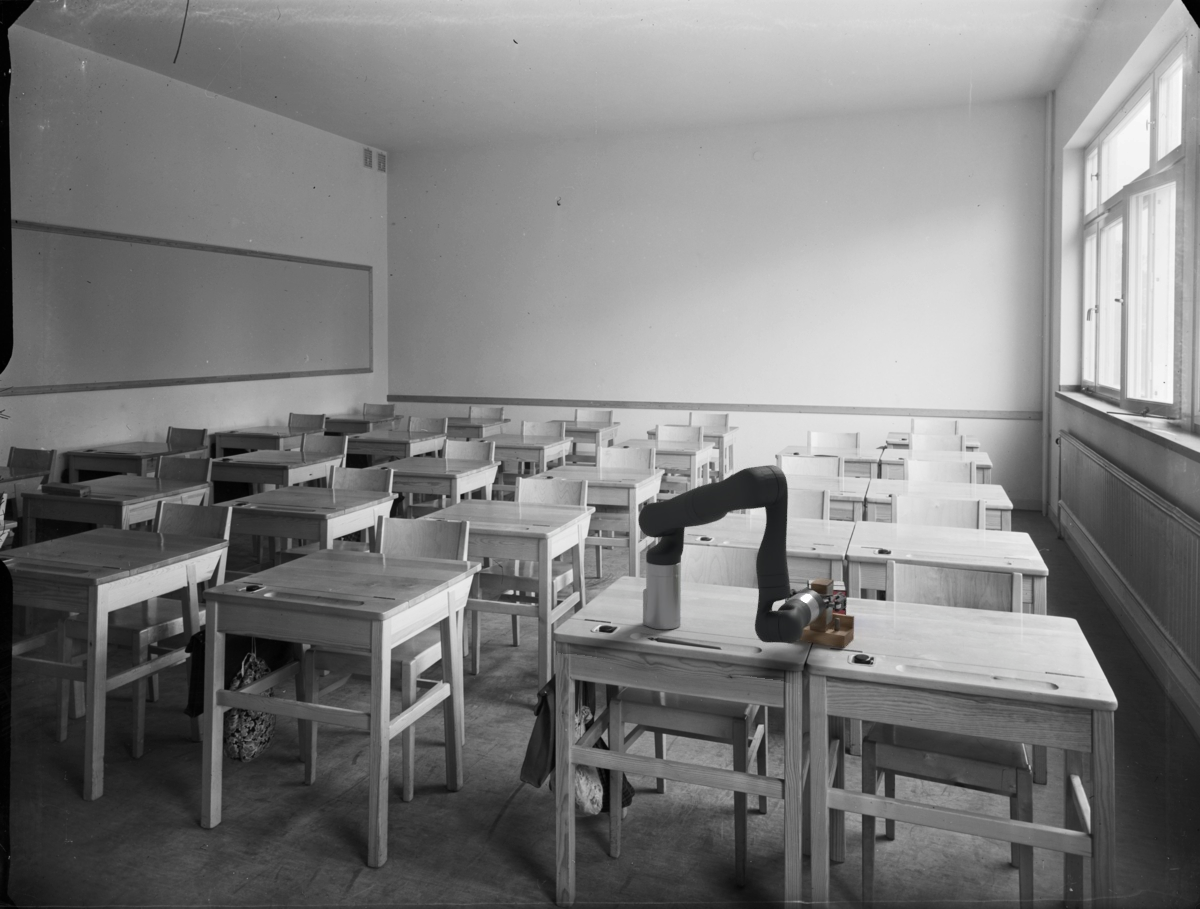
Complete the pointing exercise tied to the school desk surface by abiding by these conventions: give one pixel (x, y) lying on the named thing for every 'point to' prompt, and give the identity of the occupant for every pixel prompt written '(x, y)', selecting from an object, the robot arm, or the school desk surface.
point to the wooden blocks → (827, 616)
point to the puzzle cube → (835, 592)
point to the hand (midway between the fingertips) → (824, 593)
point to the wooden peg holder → (832, 632)
